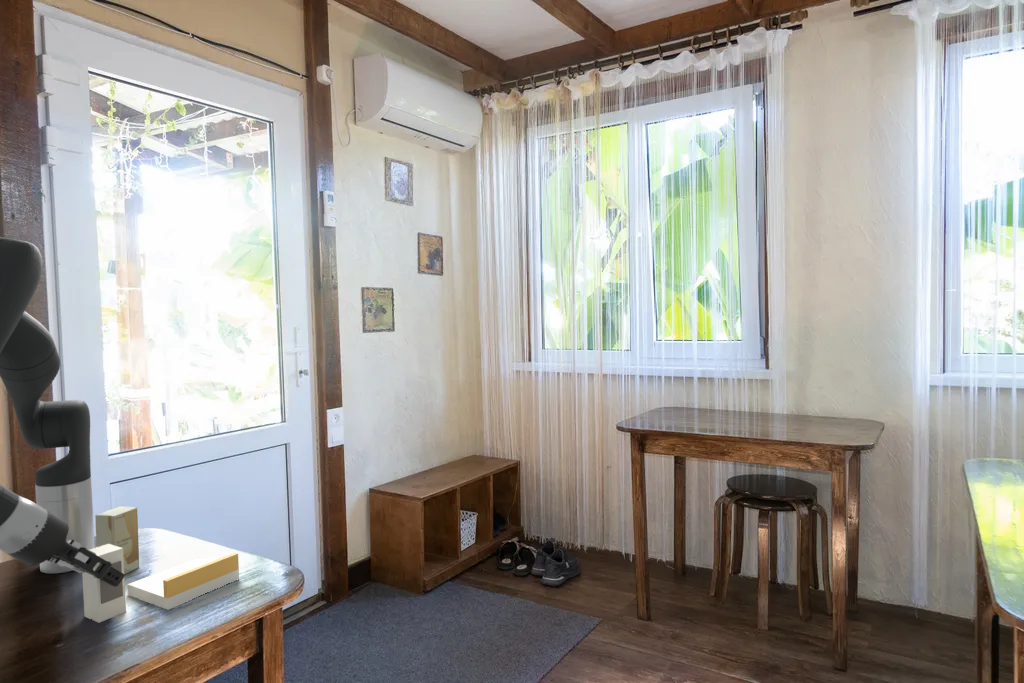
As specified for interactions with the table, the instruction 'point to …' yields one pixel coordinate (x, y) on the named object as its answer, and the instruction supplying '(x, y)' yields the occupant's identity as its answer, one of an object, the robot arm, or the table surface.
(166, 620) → the table surface
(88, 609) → the product carton
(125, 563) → the skincare box
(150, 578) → the shelf board
